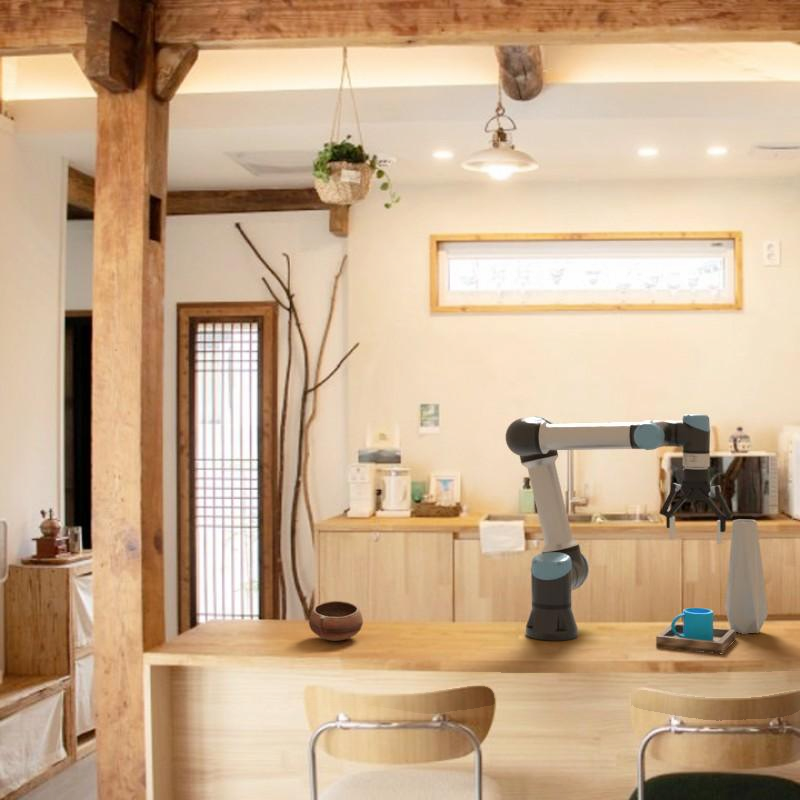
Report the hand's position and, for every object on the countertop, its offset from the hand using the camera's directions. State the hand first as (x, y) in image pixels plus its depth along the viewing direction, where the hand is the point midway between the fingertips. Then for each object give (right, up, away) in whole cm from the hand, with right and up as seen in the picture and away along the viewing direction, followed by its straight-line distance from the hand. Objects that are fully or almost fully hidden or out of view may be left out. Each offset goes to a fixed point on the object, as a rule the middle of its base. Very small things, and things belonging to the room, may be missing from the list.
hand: (695, 541), depth 306 cm
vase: (+18, -28, +8) cm, 34 cm away
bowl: (-104, -29, +3) cm, 108 cm away
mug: (-2, -27, -5) cm, 28 cm away
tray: (-1, -28, -5) cm, 29 cm away
